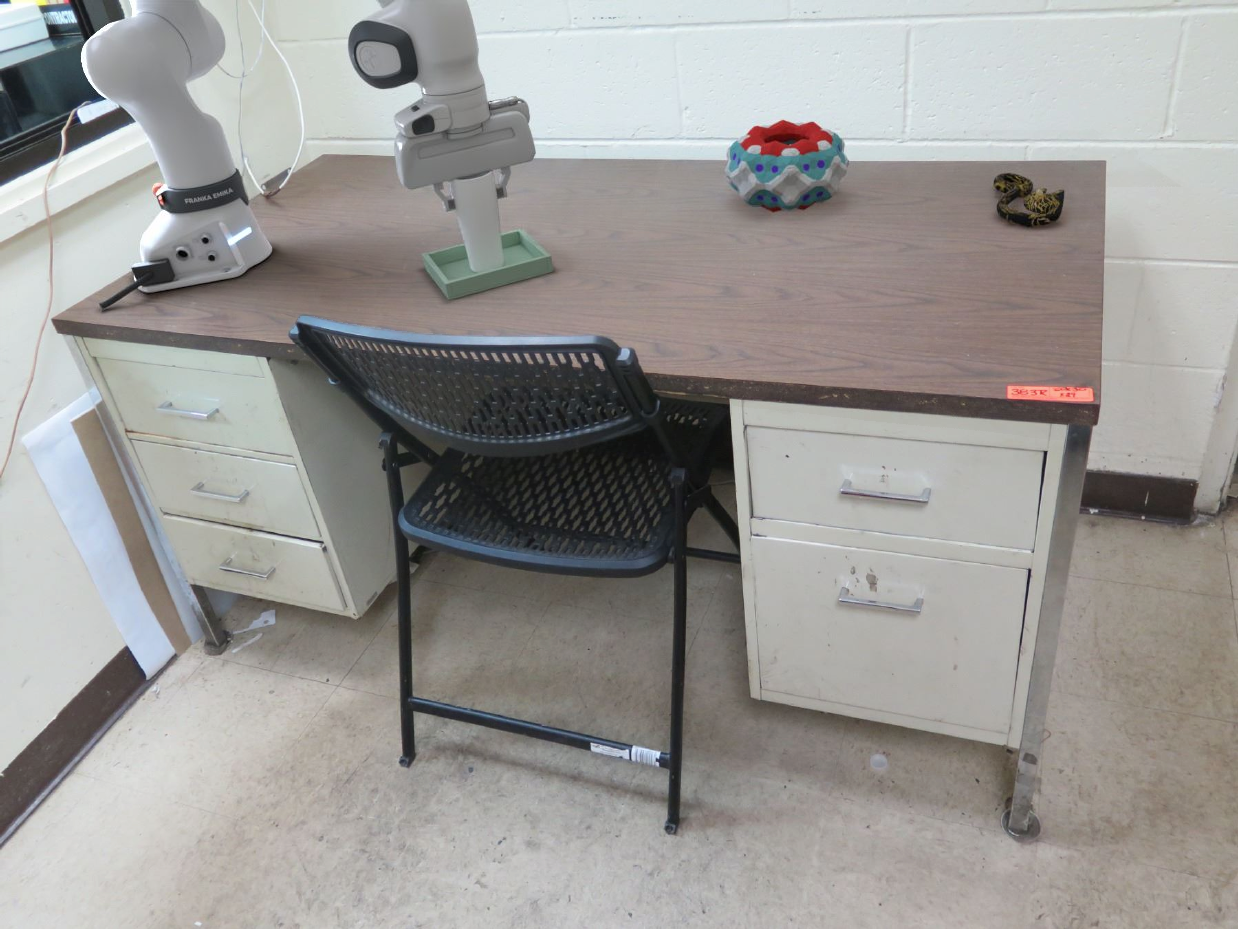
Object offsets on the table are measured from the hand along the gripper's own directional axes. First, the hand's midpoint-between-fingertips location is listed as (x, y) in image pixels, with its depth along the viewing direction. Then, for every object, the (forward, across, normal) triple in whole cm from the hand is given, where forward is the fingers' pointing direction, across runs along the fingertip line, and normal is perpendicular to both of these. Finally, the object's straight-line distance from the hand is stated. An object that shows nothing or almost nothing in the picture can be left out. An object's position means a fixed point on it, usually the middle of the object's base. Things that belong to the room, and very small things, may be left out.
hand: (475, 203), depth 146 cm
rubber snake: (+11, -78, +30) cm, 84 cm away
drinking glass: (+10, 0, 0) cm, 10 cm away
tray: (+11, 0, 0) cm, 11 cm away
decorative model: (+11, -51, +4) cm, 52 cm away
